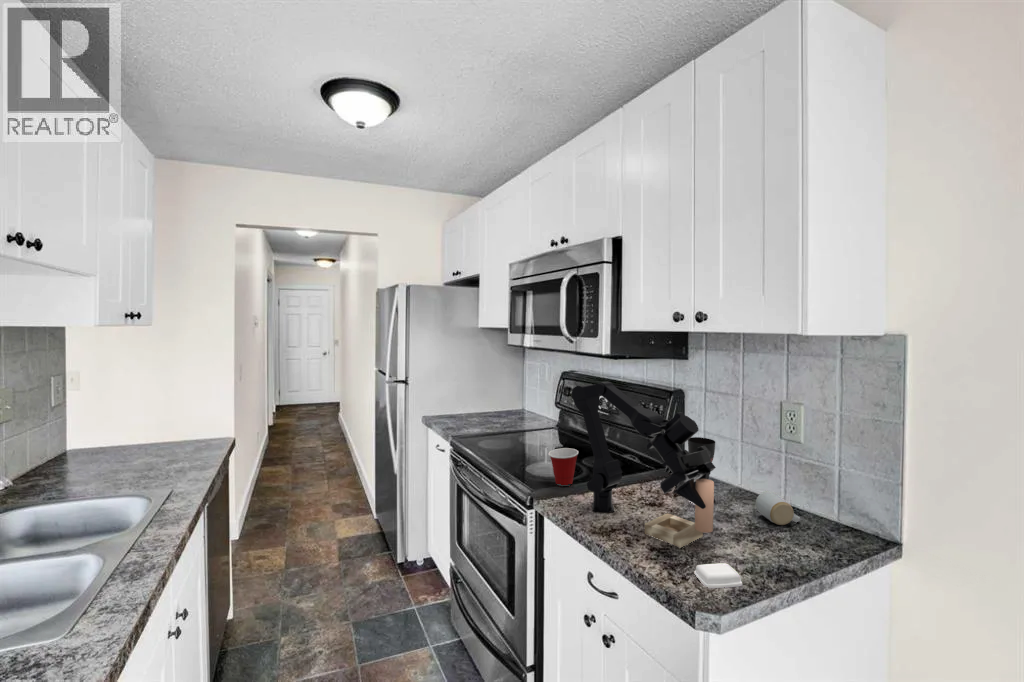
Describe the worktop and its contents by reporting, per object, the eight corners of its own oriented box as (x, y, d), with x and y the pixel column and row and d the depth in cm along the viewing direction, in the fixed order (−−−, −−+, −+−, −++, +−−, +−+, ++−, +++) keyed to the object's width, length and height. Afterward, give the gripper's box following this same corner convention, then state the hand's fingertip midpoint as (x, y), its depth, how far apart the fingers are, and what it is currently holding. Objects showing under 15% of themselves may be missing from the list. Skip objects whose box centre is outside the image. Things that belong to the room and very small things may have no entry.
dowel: (692, 524, 128) (693, 478, 127) (709, 525, 128) (710, 478, 127) (697, 532, 124) (698, 484, 123) (715, 533, 123) (716, 484, 122)
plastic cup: (543, 481, 177) (543, 448, 177) (570, 478, 180) (570, 446, 180) (555, 491, 167) (555, 456, 166) (583, 487, 170) (583, 454, 170)
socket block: (644, 534, 133) (644, 523, 133) (667, 523, 140) (667, 513, 140) (680, 548, 125) (681, 537, 125) (703, 536, 132) (703, 525, 132)
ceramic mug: (770, 527, 137) (771, 500, 137) (754, 515, 146) (755, 490, 145) (806, 526, 138) (807, 500, 138) (788, 515, 146) (789, 490, 146)
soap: (728, 572, 114) (728, 559, 114) (744, 587, 107) (745, 575, 107) (691, 574, 113) (691, 562, 113) (706, 590, 106) (706, 577, 106)
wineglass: (698, 508, 151) (699, 444, 150) (681, 498, 160) (682, 438, 159) (720, 505, 153) (721, 442, 152) (702, 495, 162) (703, 436, 161)
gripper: (671, 443, 121) (712, 499, 114) (709, 431, 133) (749, 481, 125) (644, 466, 128) (681, 521, 120) (682, 453, 140) (719, 502, 132)
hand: (709, 505), depth 124 cm, fingers closed on dowel, 4 cm apart
